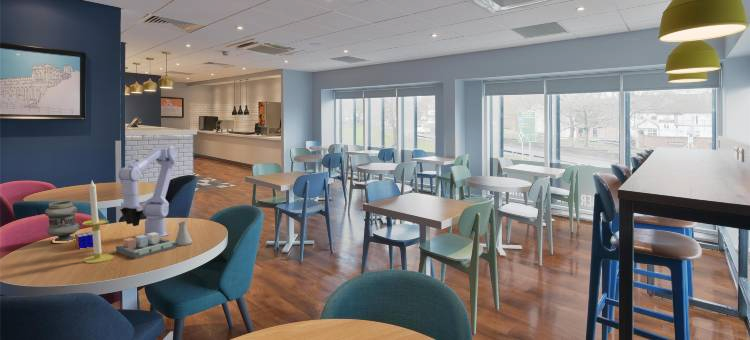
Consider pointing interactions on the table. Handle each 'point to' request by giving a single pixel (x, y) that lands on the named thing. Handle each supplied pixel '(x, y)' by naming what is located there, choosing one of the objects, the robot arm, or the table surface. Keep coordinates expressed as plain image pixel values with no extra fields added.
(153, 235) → the pale grey square block
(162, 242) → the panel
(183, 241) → the flask
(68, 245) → the table surface
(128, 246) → the clay pink cube
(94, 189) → the candle
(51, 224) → the apothecary jar
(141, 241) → the pale blue tilted box
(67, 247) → the table surface
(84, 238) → the rubik's cube
